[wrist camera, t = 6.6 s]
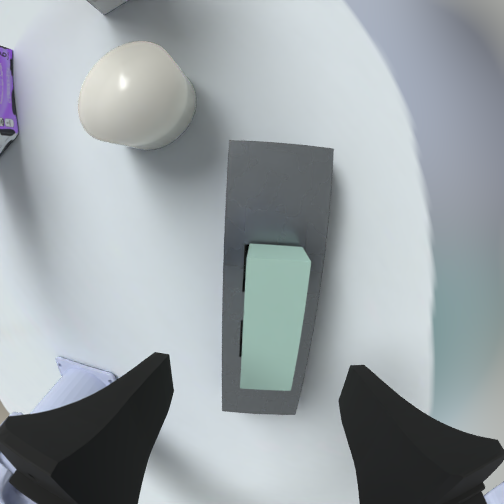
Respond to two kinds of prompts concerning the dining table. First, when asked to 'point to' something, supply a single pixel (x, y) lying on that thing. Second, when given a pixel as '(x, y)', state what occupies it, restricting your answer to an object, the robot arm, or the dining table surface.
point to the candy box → (7, 100)
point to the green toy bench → (273, 315)
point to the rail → (271, 233)
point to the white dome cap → (136, 97)
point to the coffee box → (106, 5)
